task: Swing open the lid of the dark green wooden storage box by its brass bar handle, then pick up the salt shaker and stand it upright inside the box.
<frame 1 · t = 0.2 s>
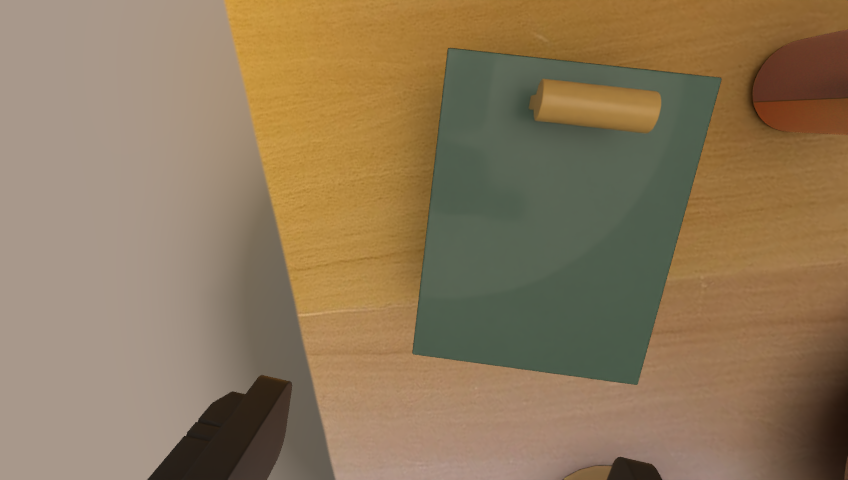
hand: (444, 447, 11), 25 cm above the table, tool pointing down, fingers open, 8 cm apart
beverage can: (790, 87, 31), on the table
lid: (557, 239, 24), point 12 cm above the table, hinge at 0.0°
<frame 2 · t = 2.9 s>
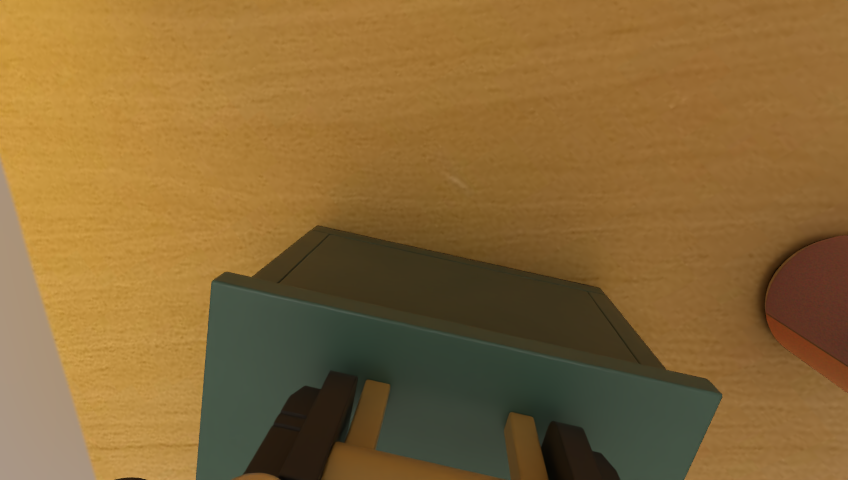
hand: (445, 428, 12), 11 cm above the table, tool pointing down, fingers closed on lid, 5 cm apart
beverage can: (822, 291, 21), on the table
chest: (422, 404, 24), on the table
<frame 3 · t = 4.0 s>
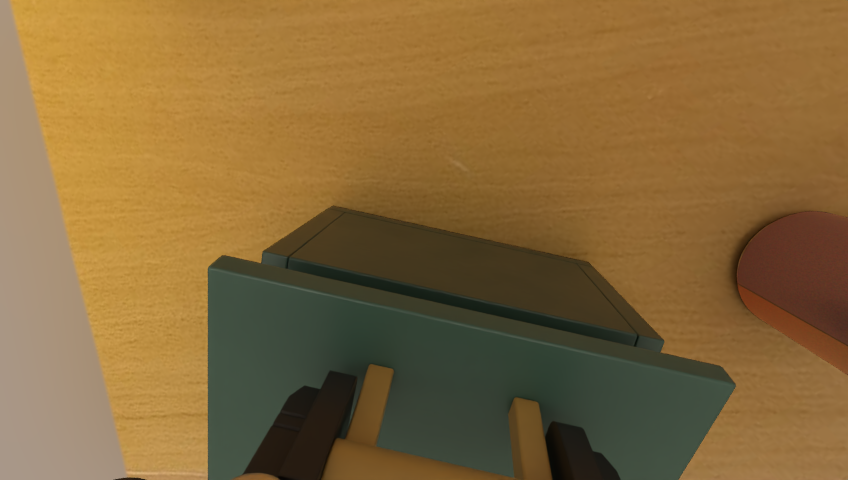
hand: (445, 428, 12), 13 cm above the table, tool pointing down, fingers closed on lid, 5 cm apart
beverage can: (788, 265, 23), on the table
chest: (426, 372, 26), on the table
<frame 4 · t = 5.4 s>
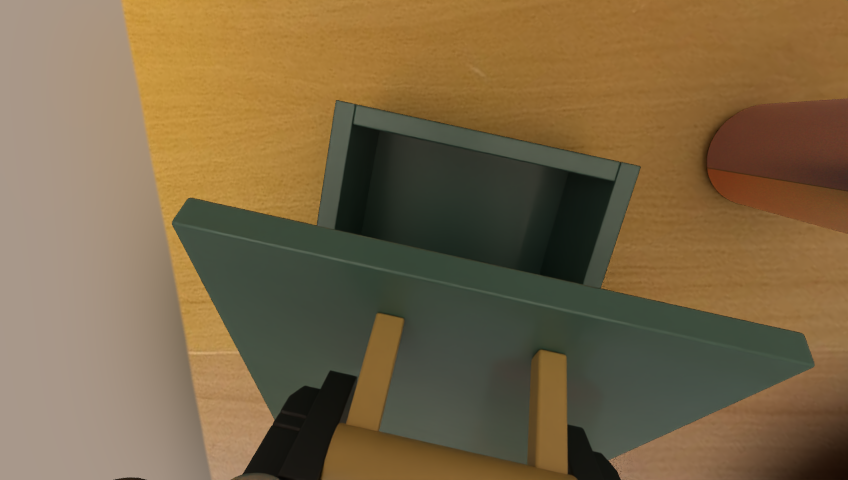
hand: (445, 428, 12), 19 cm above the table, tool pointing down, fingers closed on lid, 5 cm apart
beverage can: (749, 154, 28), on the table
chest: (448, 255, 31), on the table
lid: (423, 467, 15), point 17 cm above the table, hinge at 38.4°, touching gripper
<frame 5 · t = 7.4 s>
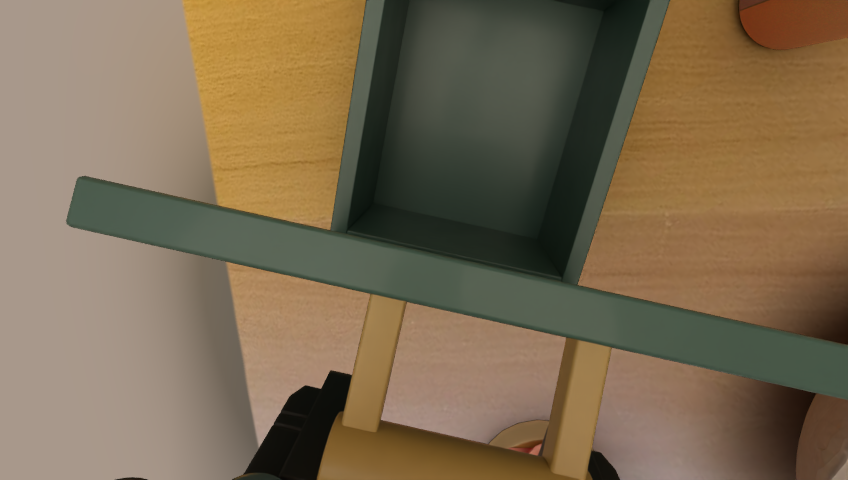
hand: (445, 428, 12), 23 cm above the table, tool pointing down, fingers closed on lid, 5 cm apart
beverage can: (781, 0, 28), on the table
chest: (479, 113, 31), on the table
cake: (538, 467, 39), on the table
lid: (451, 340, 15), point 18 cm above the table, hinge at 71.5°, touching gripper
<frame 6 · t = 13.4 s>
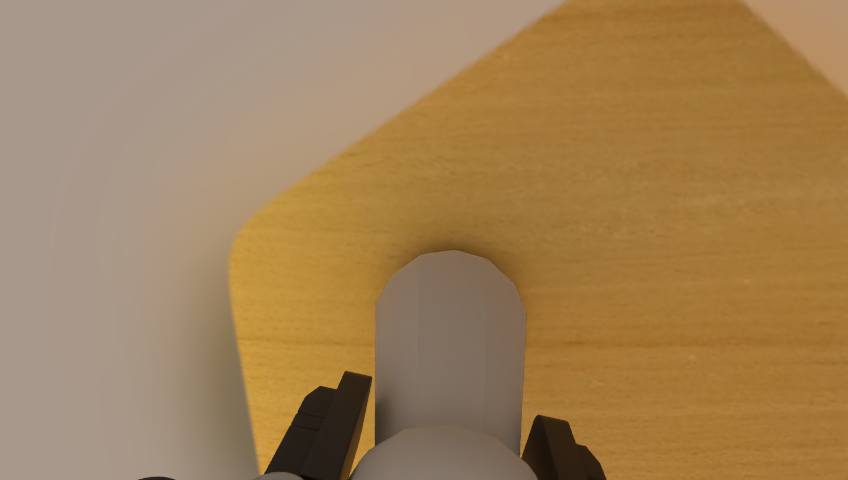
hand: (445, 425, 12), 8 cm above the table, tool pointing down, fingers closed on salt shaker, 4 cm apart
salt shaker: (450, 297, 20), on the table, touching gripper
when the fingers open (9 cm above the table, at t = 21.4 s): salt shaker stays where it is, resting on chest.
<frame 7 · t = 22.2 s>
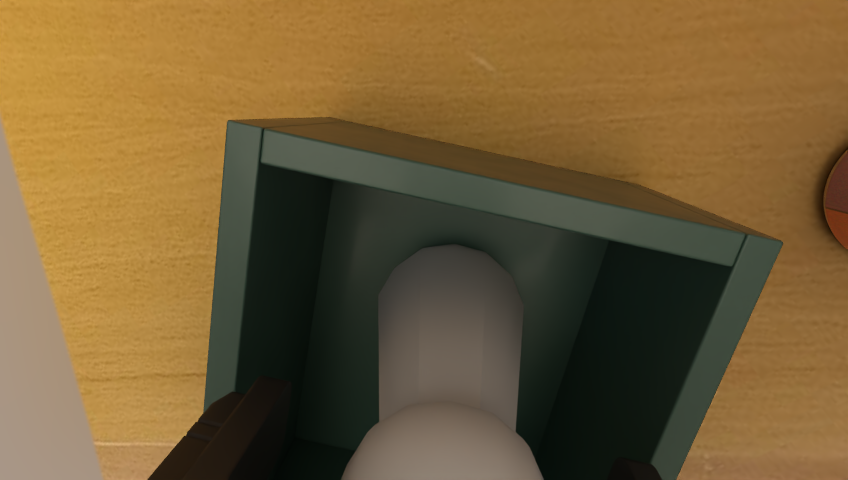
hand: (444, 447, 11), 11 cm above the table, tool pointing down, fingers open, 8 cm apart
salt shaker: (450, 290, 21), point 1 cm above the table, touching chest
chest: (441, 323, 22), on the table
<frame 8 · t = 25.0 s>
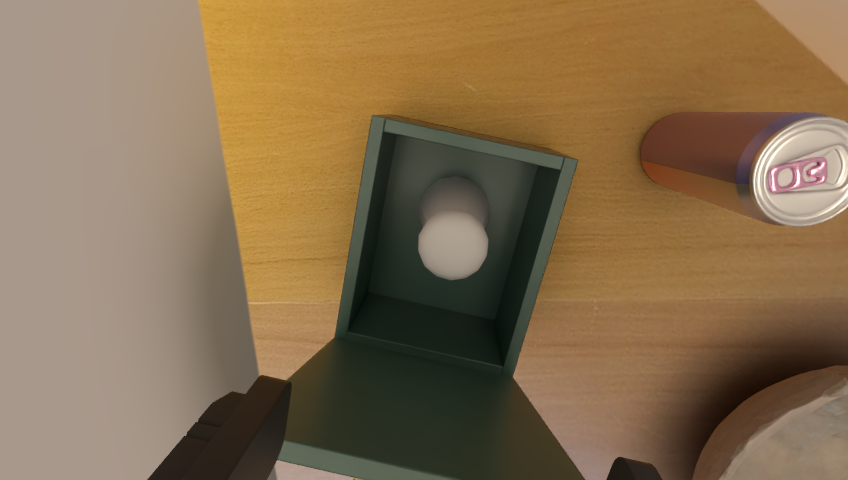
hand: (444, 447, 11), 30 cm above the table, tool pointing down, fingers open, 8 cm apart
bowl: (785, 440, 44), on the table
beverage can: (673, 149, 37), on the table
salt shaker: (454, 205, 39), point 1 cm above the table, touching chest
chest: (449, 226, 40), on the table
lid: (412, 440, 25), point 18 cm above the table, hinge at 72.0°
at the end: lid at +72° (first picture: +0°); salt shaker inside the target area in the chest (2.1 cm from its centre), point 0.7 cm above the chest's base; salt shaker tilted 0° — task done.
